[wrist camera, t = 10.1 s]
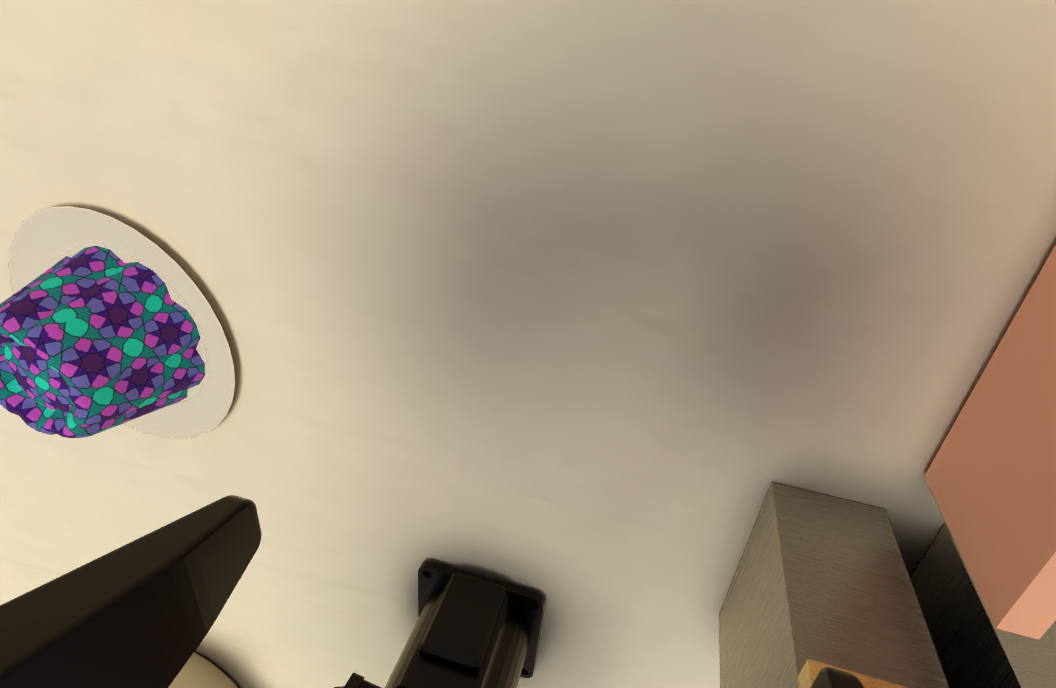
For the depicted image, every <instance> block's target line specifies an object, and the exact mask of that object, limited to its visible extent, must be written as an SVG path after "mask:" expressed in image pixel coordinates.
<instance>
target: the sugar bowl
mask: <svg viewBox="0 0 1056 688" xmlns="http://www.w3.org/2000/svg"><path fill="white" fill-rule="evenodd" d="M168 688H238V687H237V685H236V684H235V683H234V682H233V681H232V680H231V679H230V678H229V677H228V676H227V675H226V674H225V673H223V672H222V671H221V670H220V669H218V668H217V667H216V666H215V665H214V664H212V663H211V662H210V661H208V660H206V659H205V658H203V657H202V656H200V655H198V654H196V653H195V652H194V653H193V654H192V656H191V657H190V658H189V660H188V661H187V663H186V664H185V665H184V667H183V668H182V669H181V671H180V672H179V674H178V675H177V676H176V678H175V679H174V680H173V682H172V683H171V685H170V686H169V687H168Z"/></svg>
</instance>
